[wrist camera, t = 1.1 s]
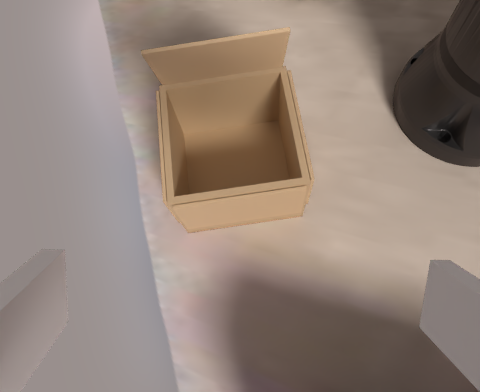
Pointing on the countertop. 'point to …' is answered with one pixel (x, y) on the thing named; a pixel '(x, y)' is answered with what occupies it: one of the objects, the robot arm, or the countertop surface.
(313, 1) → the countertop surface
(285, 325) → the countertop surface
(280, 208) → the carton
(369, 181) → the countertop surface
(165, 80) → the front flap
